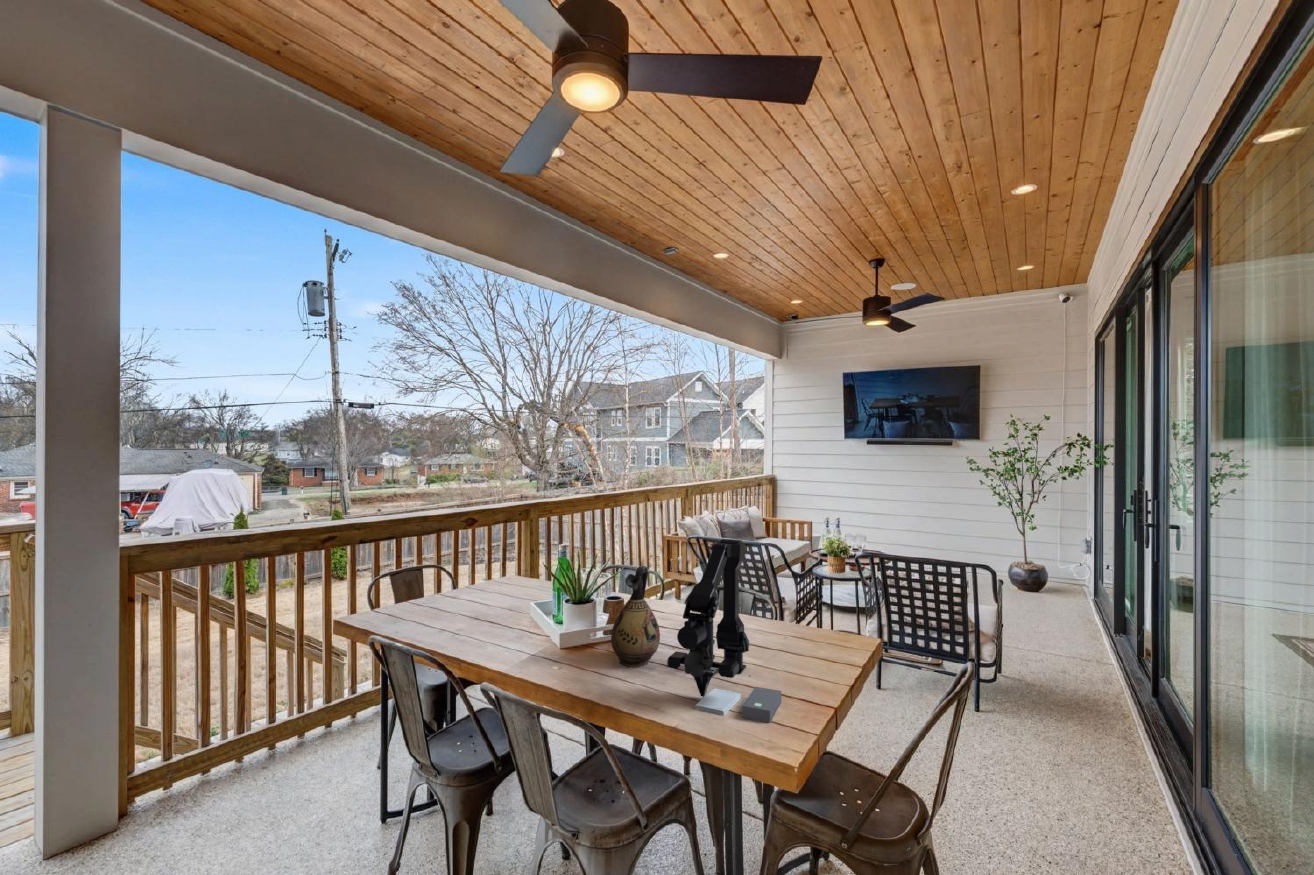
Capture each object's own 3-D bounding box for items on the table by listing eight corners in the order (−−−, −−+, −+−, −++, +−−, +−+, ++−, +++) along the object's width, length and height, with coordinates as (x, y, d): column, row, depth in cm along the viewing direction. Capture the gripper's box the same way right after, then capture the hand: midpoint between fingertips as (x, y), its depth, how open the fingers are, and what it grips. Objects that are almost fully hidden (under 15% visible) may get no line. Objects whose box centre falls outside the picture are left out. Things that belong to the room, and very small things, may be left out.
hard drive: (723, 711, 150) (740, 692, 161) (694, 704, 153) (712, 687, 164) (724, 717, 150) (740, 698, 161) (694, 711, 153) (712, 693, 164)
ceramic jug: (649, 674, 177) (649, 574, 177) (603, 668, 182) (602, 570, 183) (668, 655, 193) (668, 563, 193) (625, 650, 198) (624, 560, 199)
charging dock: (750, 696, 161) (750, 685, 161) (781, 702, 157) (781, 690, 157) (736, 716, 149) (736, 704, 149) (770, 723, 145) (769, 710, 145)
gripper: (659, 642, 156) (659, 701, 156) (726, 652, 148) (726, 714, 148) (675, 630, 166) (675, 685, 166) (739, 639, 159) (739, 697, 158)
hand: (702, 695), depth 159 cm, fingers closed
